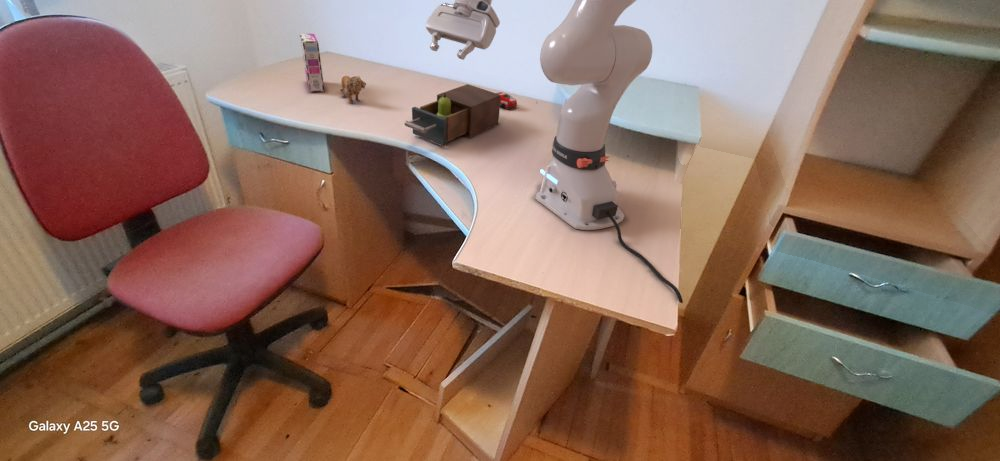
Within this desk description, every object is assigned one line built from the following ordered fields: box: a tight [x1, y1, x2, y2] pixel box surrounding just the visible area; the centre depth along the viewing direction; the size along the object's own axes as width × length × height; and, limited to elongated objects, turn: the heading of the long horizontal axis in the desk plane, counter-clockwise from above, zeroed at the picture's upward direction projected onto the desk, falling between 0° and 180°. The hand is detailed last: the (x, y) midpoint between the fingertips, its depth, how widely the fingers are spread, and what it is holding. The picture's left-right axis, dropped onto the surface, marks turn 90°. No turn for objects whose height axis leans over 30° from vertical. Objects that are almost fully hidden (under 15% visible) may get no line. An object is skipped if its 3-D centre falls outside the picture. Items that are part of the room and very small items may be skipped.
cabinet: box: [436, 83, 501, 139], centre depth 139 cm, size 15×13×10 cm
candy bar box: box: [299, 33, 326, 93], centre depth 153 cm, size 11×5×16 cm, turn 25°
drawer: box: [404, 100, 469, 147], centre depth 130 cm, size 19×12×8 cm, turn 145°
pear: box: [436, 92, 452, 118], centre depth 130 cm, size 5×5×11 cm
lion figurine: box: [340, 75, 367, 105], centre depth 149 cm, size 15×5×9 cm, turn 44°
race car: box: [495, 91, 518, 110], centre depth 158 cm, size 13×5×4 cm, turn 53°
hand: (446, 53), depth 120 cm, fingers open, 8 cm apart
